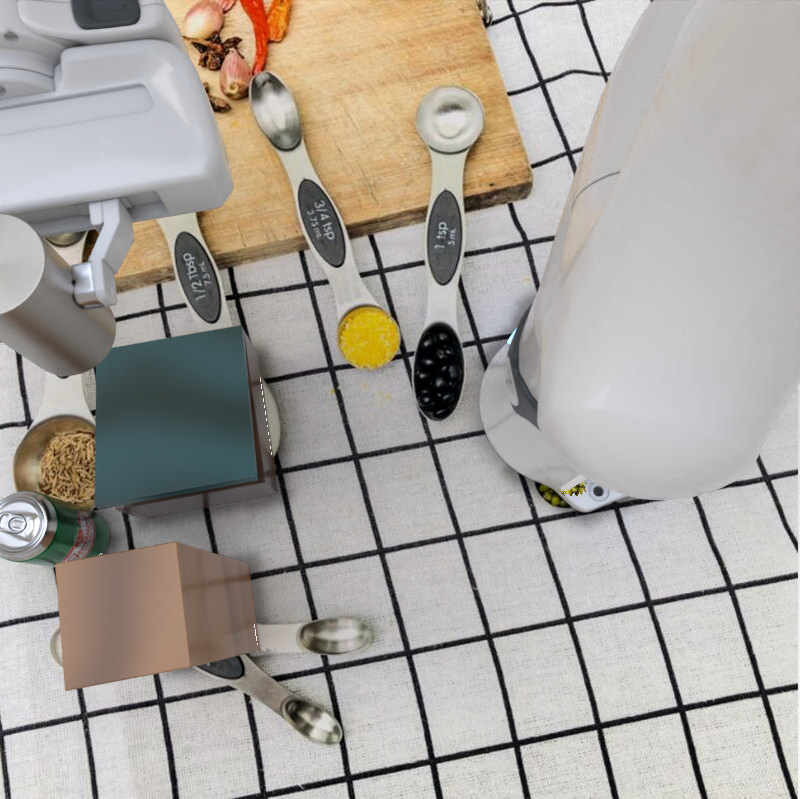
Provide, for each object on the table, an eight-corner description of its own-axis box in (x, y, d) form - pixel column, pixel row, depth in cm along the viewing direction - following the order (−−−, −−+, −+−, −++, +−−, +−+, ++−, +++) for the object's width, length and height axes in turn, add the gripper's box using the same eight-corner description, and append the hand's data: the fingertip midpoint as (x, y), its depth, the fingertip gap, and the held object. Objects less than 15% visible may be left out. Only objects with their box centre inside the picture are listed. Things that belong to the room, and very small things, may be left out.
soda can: (102, 575, 69) (39, 568, 57) (43, 563, 69) (-31, 553, 57) (119, 515, 70) (61, 496, 58) (62, 503, 70) (-7, 481, 59)
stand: (248, 563, 69) (176, 541, 48) (260, 650, 67) (190, 667, 46) (165, 579, 69) (54, 563, 47) (174, 666, 67) (64, 691, 46)
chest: (279, 494, 70) (265, 482, 64) (142, 519, 70) (115, 510, 63) (258, 354, 73) (243, 329, 67) (128, 378, 73) (100, 354, 66)
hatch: (258, 480, 60) (255, 476, 59) (98, 509, 60) (94, 505, 59) (243, 330, 67) (241, 324, 66) (99, 355, 66) (96, 350, 66)
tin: (112, 283, 45) (40, 204, 36) (120, 367, 44) (49, 306, 35) (22, 298, 45) (-71, 222, 36) (29, 383, 43) (-66, 326, 35)
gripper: (-241, 56, 39) (-244, 331, 36) (193, -13, 40) (231, 250, 36) (-154, 131, 45) (-149, 372, 42) (221, 70, 46) (256, 302, 42)
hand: (32, 315), depth 39 cm, fingers closed on tin, 5 cm apart
